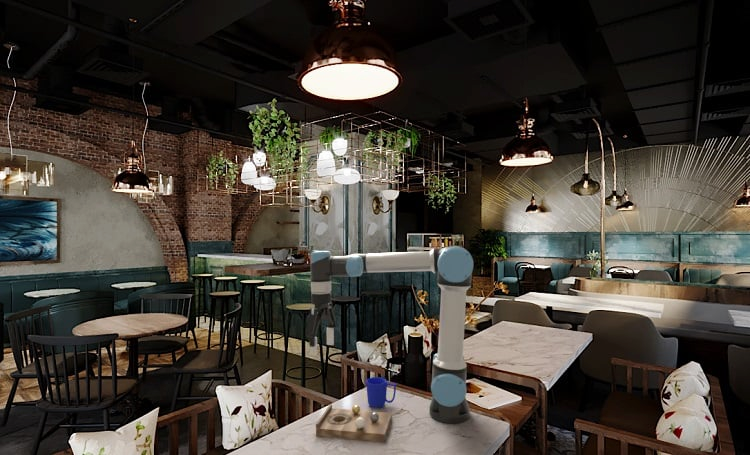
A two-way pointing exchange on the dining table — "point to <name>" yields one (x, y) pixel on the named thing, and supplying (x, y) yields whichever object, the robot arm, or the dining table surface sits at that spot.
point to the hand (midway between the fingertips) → (322, 349)
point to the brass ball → (356, 409)
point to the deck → (353, 425)
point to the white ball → (360, 422)
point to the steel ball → (374, 417)
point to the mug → (378, 391)
